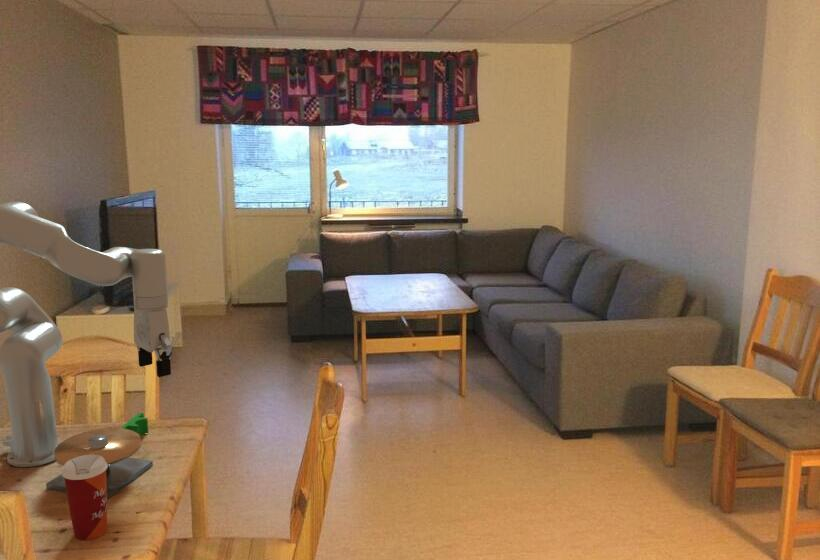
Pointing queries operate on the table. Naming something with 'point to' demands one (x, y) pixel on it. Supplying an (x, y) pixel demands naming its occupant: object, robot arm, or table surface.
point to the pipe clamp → (137, 424)
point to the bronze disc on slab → (104, 456)
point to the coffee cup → (87, 495)
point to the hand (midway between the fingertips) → (154, 370)
